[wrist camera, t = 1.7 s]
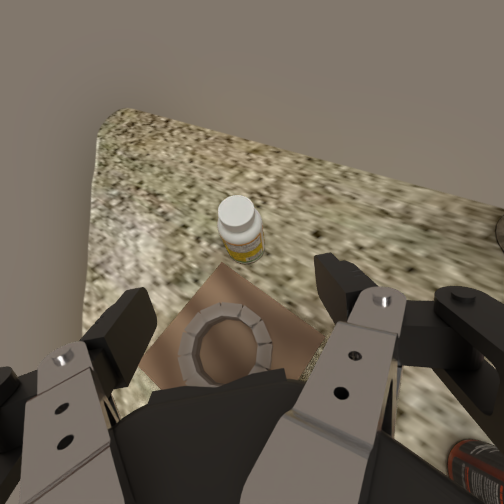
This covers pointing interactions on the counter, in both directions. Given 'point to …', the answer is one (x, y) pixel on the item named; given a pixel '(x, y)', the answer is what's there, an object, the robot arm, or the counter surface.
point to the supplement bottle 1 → (241, 229)
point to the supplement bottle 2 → (478, 470)
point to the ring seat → (229, 337)
